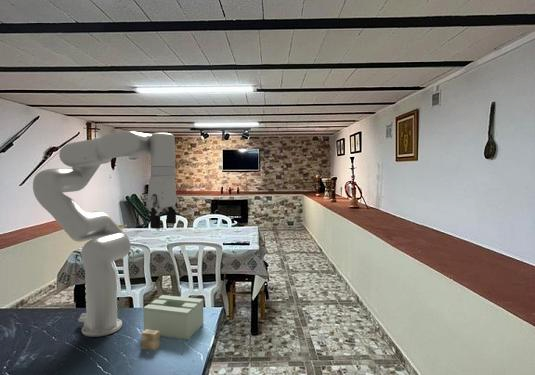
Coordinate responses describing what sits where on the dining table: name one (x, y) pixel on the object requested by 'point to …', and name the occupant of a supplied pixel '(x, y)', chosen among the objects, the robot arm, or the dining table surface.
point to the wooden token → (150, 339)
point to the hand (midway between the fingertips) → (163, 225)
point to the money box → (174, 316)
